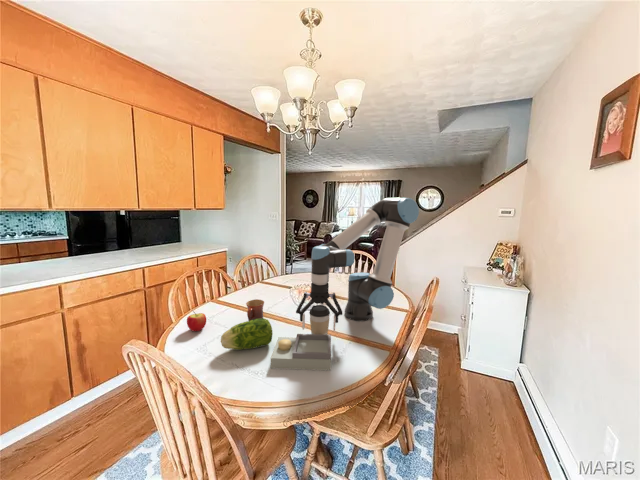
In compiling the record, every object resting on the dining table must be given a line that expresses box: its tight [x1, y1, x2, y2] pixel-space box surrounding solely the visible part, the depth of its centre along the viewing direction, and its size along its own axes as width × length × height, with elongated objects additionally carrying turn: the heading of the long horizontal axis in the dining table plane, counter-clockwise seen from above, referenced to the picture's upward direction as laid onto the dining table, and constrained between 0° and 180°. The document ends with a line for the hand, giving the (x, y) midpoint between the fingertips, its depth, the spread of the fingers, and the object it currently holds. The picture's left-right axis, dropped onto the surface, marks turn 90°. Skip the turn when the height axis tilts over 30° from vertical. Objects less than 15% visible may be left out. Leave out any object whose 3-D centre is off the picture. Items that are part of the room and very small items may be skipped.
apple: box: [186, 311, 207, 332], centre depth 124 cm, size 8×8×10 cm
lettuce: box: [220, 317, 274, 351], centre depth 110 cm, size 12×21×11 cm, turn 117°
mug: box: [245, 298, 265, 321], centre depth 131 cm, size 12×9×10 cm
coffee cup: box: [308, 304, 331, 335], centre depth 117 cm, size 9×9×15 cm
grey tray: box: [270, 333, 332, 371], centre depth 104 cm, size 22×15×6 cm
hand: (318, 328), depth 117 cm, fingers open, 13 cm apart
